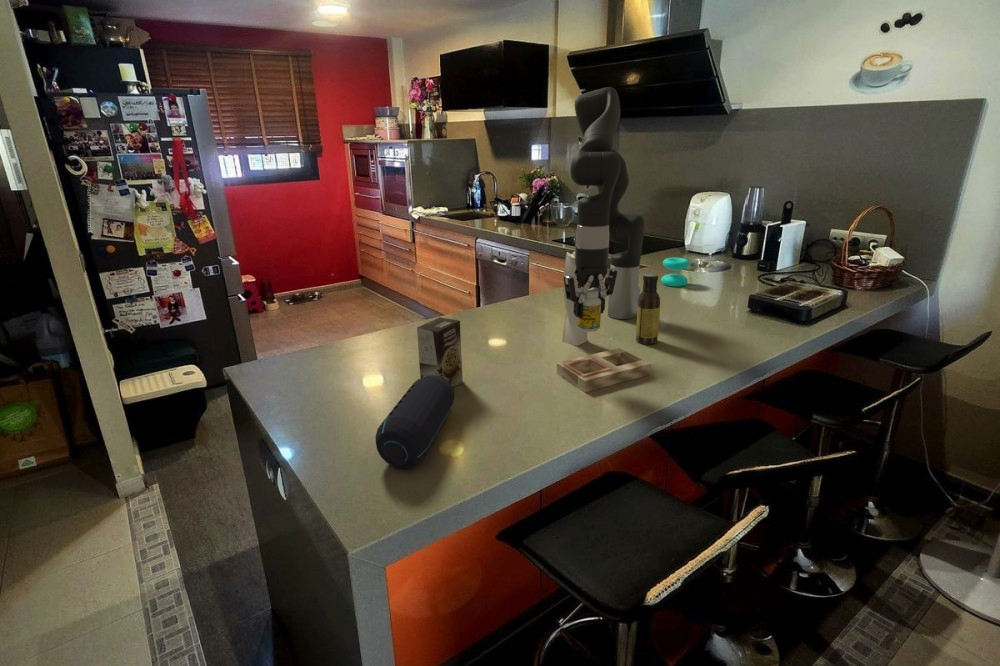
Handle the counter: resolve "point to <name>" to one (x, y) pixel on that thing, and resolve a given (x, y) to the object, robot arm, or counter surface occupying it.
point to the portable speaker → (415, 422)
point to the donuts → (675, 279)
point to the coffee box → (440, 350)
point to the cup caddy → (602, 369)
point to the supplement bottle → (590, 311)
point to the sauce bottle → (648, 311)
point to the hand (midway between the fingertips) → (589, 314)
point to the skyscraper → (571, 309)
